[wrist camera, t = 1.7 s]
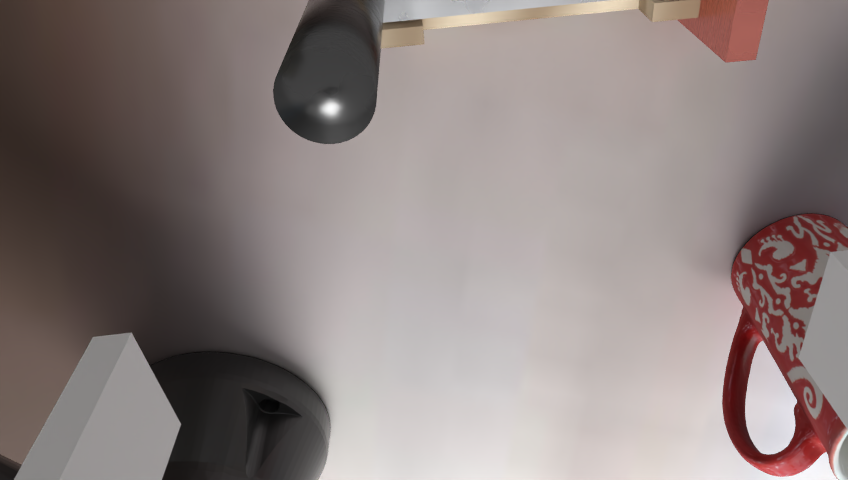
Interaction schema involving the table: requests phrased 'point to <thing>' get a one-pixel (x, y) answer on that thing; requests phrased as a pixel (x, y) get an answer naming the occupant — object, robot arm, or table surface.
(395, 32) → the strip
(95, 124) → the table surface
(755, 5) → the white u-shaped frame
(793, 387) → the mug
